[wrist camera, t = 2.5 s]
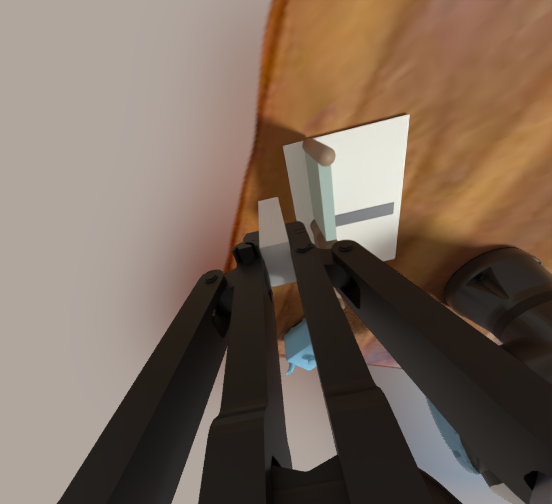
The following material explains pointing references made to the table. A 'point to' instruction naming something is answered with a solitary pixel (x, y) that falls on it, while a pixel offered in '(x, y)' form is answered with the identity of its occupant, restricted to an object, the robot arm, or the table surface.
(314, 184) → the swing panel
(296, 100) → the table surface
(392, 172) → the card
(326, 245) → the fixed fence
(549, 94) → the table surface
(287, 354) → the teapot
